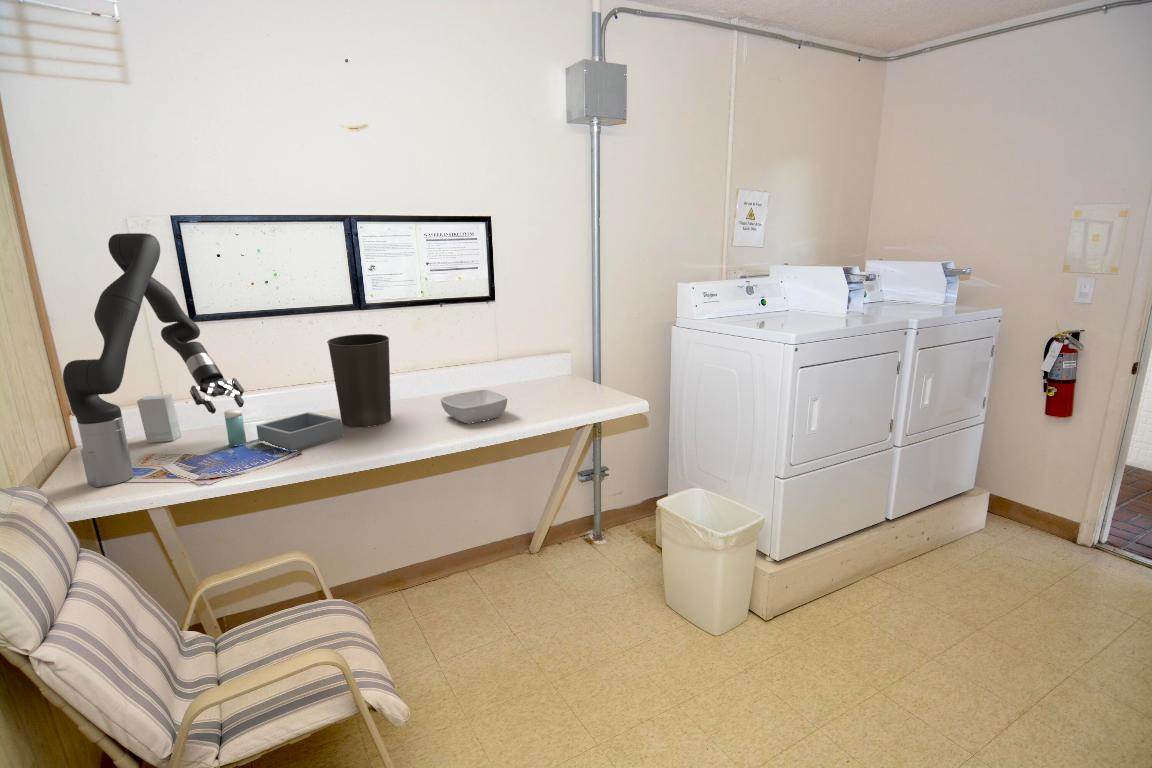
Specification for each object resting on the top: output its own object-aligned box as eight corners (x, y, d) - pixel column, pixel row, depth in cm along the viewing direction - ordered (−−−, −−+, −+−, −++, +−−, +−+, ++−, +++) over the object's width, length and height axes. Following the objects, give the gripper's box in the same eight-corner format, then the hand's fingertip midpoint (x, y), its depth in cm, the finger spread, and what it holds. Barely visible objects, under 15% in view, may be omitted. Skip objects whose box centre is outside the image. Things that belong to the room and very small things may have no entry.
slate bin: (291, 452, 177) (289, 433, 175) (258, 443, 186) (256, 425, 185) (342, 436, 191) (340, 419, 190) (309, 428, 201) (307, 412, 199)
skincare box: (181, 436, 195) (174, 393, 192) (173, 441, 189) (165, 397, 186) (154, 438, 193) (146, 395, 190) (144, 443, 188) (136, 399, 184)
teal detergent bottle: (234, 447, 182) (229, 414, 180) (226, 445, 185) (221, 412, 182) (249, 443, 186) (244, 410, 184) (241, 441, 189) (236, 408, 186)
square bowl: (461, 429, 197) (459, 407, 196) (437, 416, 213) (435, 396, 212) (513, 418, 209) (512, 398, 207) (486, 407, 225) (485, 388, 224)
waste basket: (399, 427, 200) (392, 342, 193) (336, 435, 193) (325, 346, 186) (393, 409, 225) (386, 332, 218) (337, 415, 217) (328, 336, 211)
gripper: (182, 366, 180) (207, 407, 176) (229, 359, 191) (253, 397, 188) (177, 381, 184) (201, 421, 180) (223, 373, 195) (247, 410, 192)
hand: (228, 408), depth 184 cm, fingers open, 8 cm apart
